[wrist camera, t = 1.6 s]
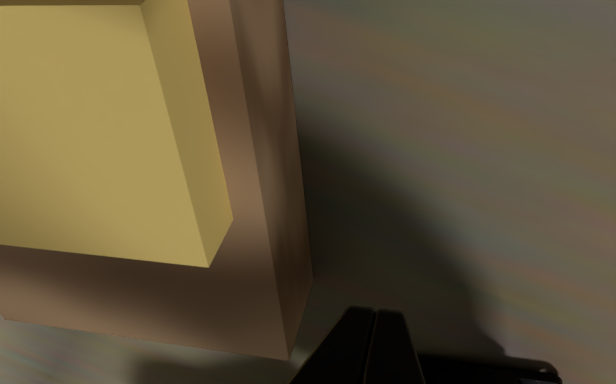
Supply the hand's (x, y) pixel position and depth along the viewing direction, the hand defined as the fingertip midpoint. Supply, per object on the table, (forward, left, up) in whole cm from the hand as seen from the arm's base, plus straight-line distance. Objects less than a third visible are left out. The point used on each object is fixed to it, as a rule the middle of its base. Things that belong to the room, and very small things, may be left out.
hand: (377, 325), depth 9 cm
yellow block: (0, +9, -6) cm, 11 cm away
